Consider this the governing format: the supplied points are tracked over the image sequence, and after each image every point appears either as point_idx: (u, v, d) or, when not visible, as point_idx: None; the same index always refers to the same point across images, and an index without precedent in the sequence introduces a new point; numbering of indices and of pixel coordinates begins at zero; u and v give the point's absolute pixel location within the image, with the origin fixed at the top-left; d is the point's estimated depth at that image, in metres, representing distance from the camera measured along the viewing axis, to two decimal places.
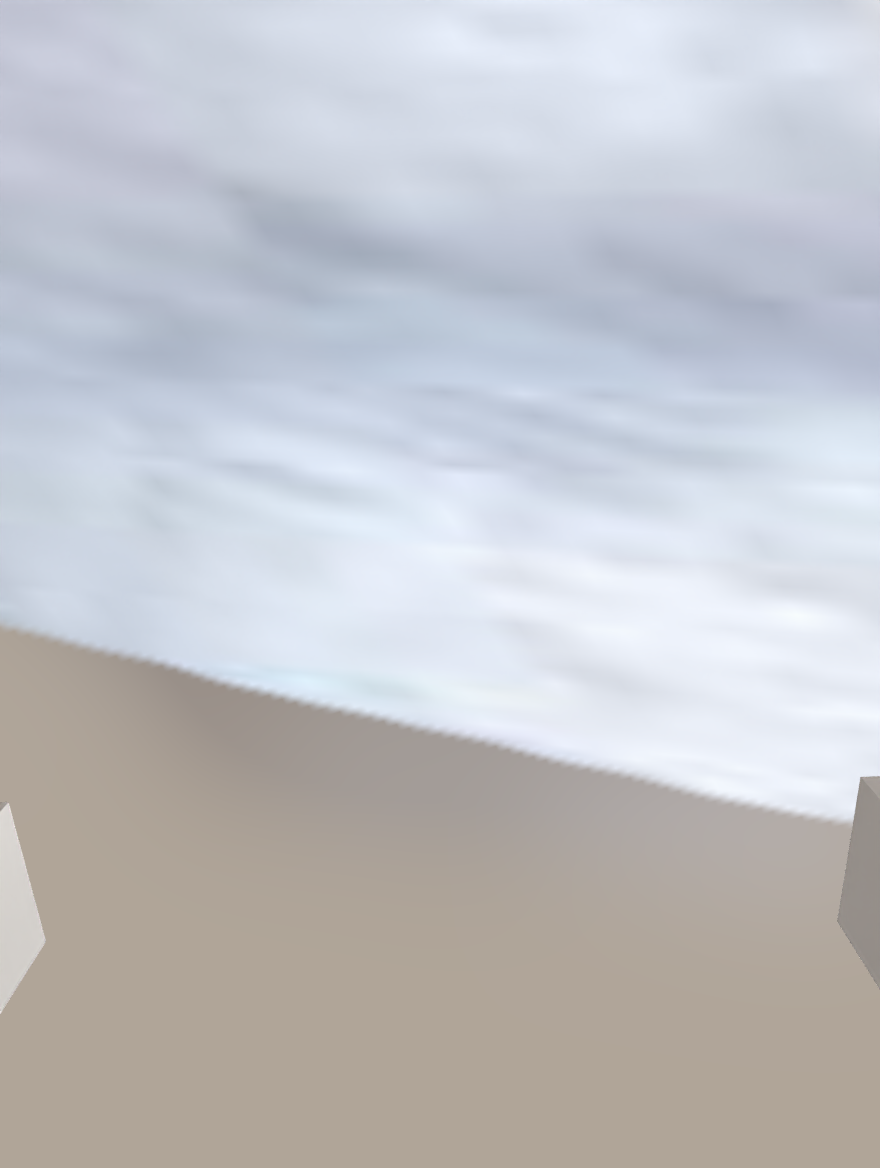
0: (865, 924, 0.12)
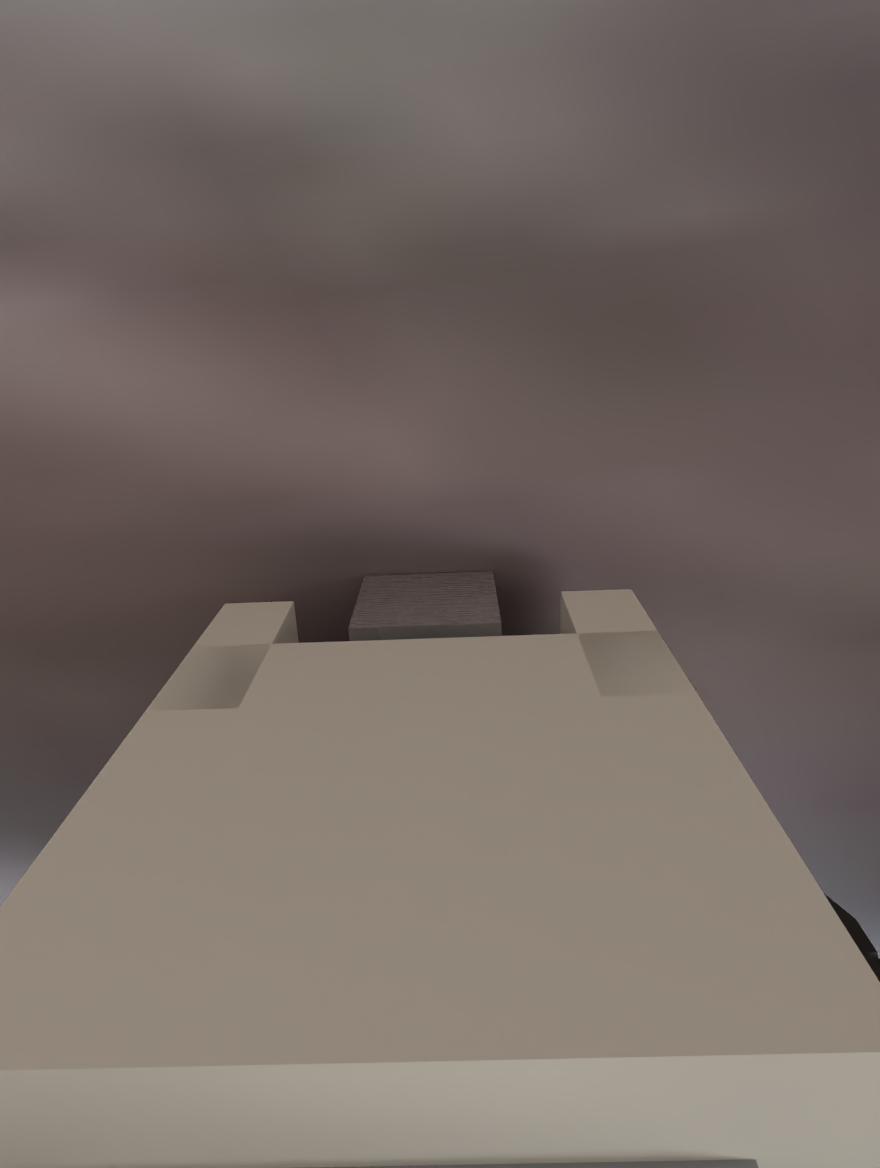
0: None
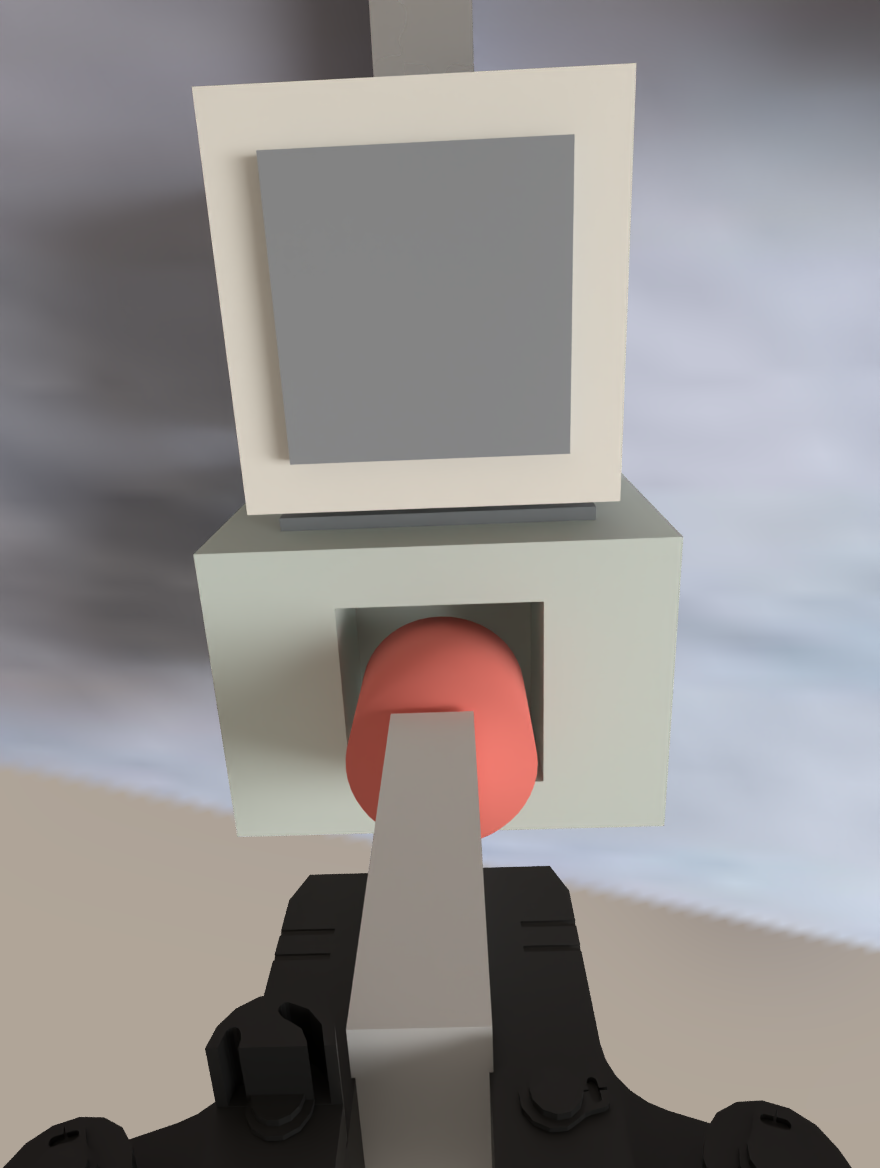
0: None
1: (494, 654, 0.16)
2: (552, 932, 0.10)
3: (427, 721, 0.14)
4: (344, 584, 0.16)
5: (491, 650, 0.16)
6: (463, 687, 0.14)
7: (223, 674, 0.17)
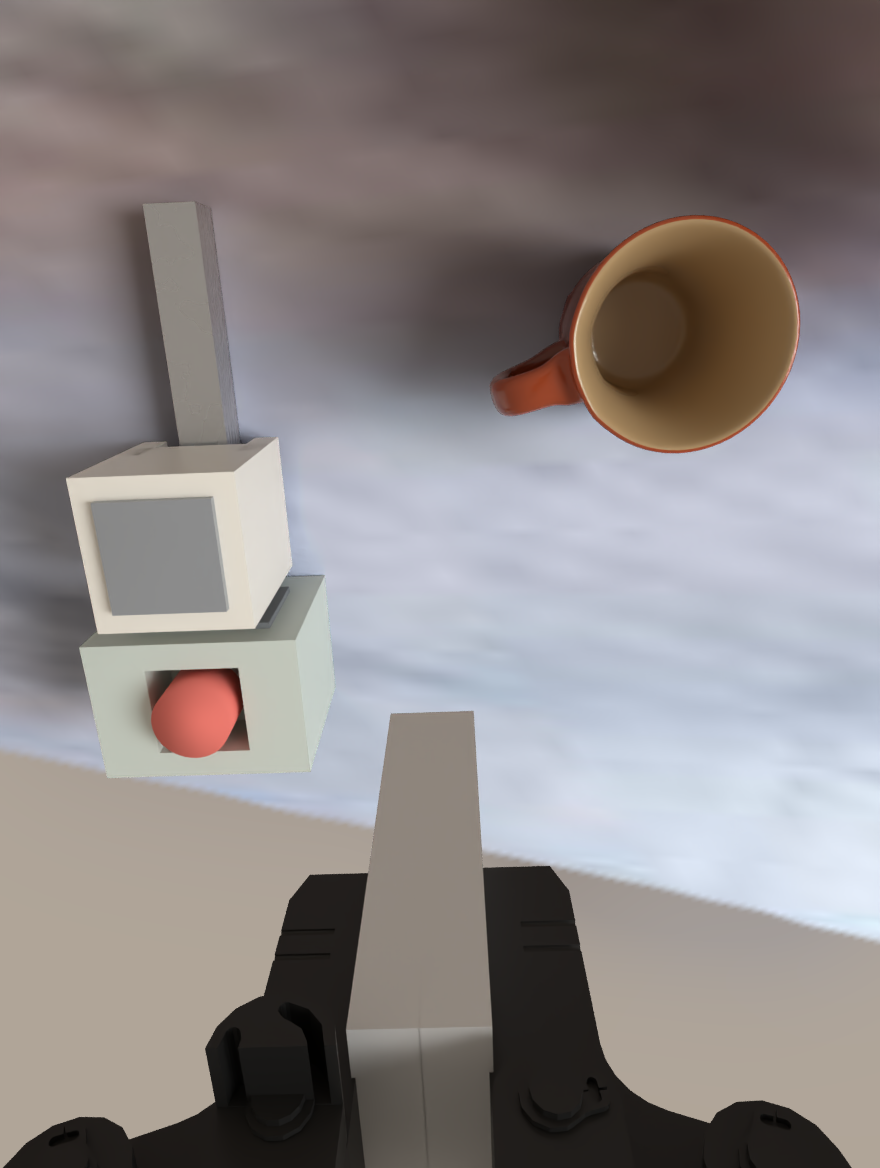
0: None
1: (220, 677, 0.37)
2: (553, 932, 0.10)
3: (427, 722, 0.14)
4: (147, 660, 0.36)
5: (219, 675, 0.37)
6: (195, 692, 0.36)
7: (96, 700, 0.37)
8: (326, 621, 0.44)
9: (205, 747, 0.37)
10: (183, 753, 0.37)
